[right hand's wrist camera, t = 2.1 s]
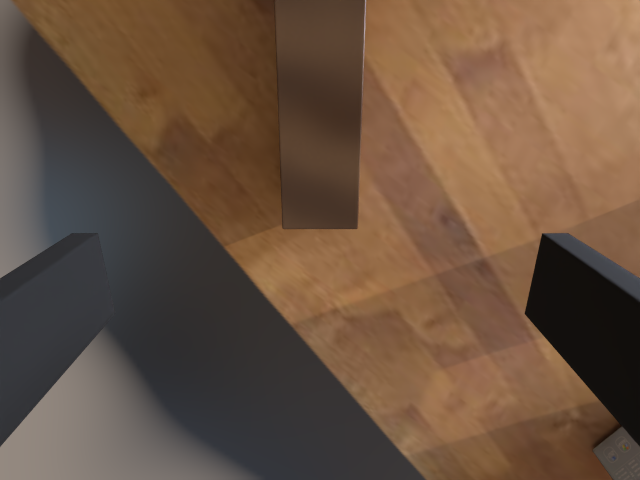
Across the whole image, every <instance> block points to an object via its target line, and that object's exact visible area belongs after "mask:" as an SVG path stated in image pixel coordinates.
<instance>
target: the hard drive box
mask: <svg viewBox="0 0 640 480" xmlns="http://www.w3.org/2000/svg"><path fill="white" fill-rule="evenodd" d="M593 452H594V454H595V455H596V456H597V458H598V459H599V461H600V462H601V463H602V465H603V466H604V468H605V469H606V470H607V472H608V473H609V475H610V476H611V477H612V479H613V480H640V446H639V445H638V444H637V443H636V442H635V441H634V439H633V438H632V437H631V436H630V435H629V434H628V432H627V431H626V430H625V429H624V428H623V427H621V428H619V429H618V430H617V431H616V432H614V433H613V434H612V435H610V436H609V437H608V438H607V439H605V440H604V441H603V442H602V443H600V444H599V445H598V446H597V447H595V448H594V449H593Z"/></svg>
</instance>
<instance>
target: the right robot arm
mask: <svg viewBox="0 0 640 480" xmlns="http://www.w3.org/2000/svg"><path fill="white" fill-rule="evenodd" d="M114 315H115V310H114V306H113V301H112V297H111V292H110V287H109V283H108V278H107V274H106V269H105V264H104V260H103V255H102V251H101V246H100V241H99V237H98V234H97V233H72V234H70V235H69V236H67V237H65V238H64V239H62V240H61V241H59V242H57V243H56V244H54V245H53V246H51V247H49V248H48V249H46V250H45V251H43V252H42V253H40V254H38V255H37V256H35V257H34V258H32V259H30V260H29V261H27V262H26V263H24V264H22V265H21V266H19V267H18V268H16V269H15V270H13V271H11V272H10V273H8V274H7V275H5V276H3V277H2V278H0V446H1V445H2V444H3V443H4V442H5V441H6V439H7V438H8V437H9V436H10V435H11V434H12V432H13V431H14V430H15V429H16V428H17V427H18V426H19V424H20V423H21V422H22V421H23V420H24V419H25V417H26V416H27V415H28V414H29V413H30V412H31V411H32V409H33V408H34V407H35V406H36V405H37V404H38V402H39V401H40V400H41V399H42V398H43V397H44V395H45V394H46V393H47V392H48V391H49V390H50V389H51V387H52V386H53V385H54V384H55V383H56V382H57V380H58V379H59V378H60V377H61V376H62V375H63V374H64V372H65V371H66V370H67V369H68V368H69V367H70V365H71V364H72V363H73V362H74V361H75V360H76V359H77V357H78V356H79V355H80V354H81V353H82V352H83V350H84V349H85V348H86V347H87V346H88V345H89V344H90V342H91V341H92V340H93V339H94V338H95V337H96V335H97V334H98V333H99V332H100V331H101V330H102V329H103V327H104V326H105V325H106V324H107V323H108V322H109V320H110V319H111V318H112V317H113V316H114ZM525 315H526V316H527V317H528V318H529V319H530V320H531V322H532V323H533V324H534V325H535V326H536V327H537V329H538V330H539V331H540V332H541V333H542V334H543V335H544V337H545V338H546V339H547V340H548V341H549V342H550V344H551V345H552V346H553V347H554V348H555V349H556V350H557V352H558V353H559V354H560V355H561V356H562V357H563V359H564V360H565V361H566V362H567V363H568V364H569V365H570V367H571V368H572V369H573V370H574V371H575V372H576V374H577V375H578V376H579V377H580V378H581V379H582V381H583V382H584V383H585V384H586V385H587V386H588V387H589V389H590V390H591V391H592V392H593V393H594V394H595V396H596V397H597V398H598V399H599V400H600V401H601V402H602V404H603V405H604V406H605V407H606V408H607V409H608V411H609V412H610V413H611V414H612V415H613V416H614V417H615V419H616V420H617V421H618V422H619V423H620V424H621V426H622V427H623V428H624V429H625V430H626V431H627V432H628V434H629V435H630V436H631V437H632V438H633V439H634V441H635V442H636V443H637V444H638V445H639V446H640V278H638V277H637V276H635V275H633V274H632V273H630V272H629V271H627V270H625V269H624V268H622V267H621V266H619V265H618V264H616V263H614V262H613V261H611V260H610V259H608V258H606V257H605V256H603V255H602V254H600V253H598V252H597V251H595V250H594V249H592V248H591V247H589V246H587V245H586V244H584V243H583V242H581V241H579V240H578V239H576V238H575V237H573V236H571V235H570V234H568V233H542V237H541V241H540V246H539V251H538V255H537V260H536V264H535V269H534V274H533V278H532V283H531V287H530V292H529V297H528V301H527V306H526V310H525Z"/></svg>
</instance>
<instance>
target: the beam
mask: <svg viewBox="0 0 640 480" xmlns="http://www.w3.org/2000/svg"><path fill="white" fill-rule="evenodd" d="M274 7H275V34H276V62H277V89H278V117H279V144H280V172H281V199H282V227H283V229H357V228H358V209H359V182H360V155H361V128H362V101H363V73H364V46H365V19H366V0H274Z"/></svg>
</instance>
